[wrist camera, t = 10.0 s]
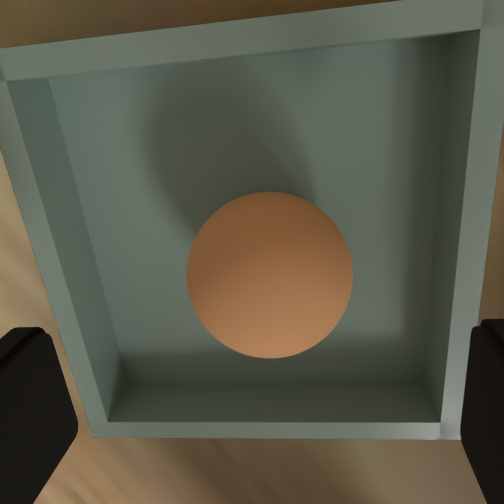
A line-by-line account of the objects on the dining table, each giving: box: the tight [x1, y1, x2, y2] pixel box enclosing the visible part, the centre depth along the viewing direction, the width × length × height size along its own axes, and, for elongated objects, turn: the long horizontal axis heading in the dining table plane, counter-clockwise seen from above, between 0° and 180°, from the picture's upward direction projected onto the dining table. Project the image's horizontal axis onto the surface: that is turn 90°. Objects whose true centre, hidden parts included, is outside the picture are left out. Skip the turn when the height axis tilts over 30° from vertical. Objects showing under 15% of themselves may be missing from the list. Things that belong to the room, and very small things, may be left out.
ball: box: [186, 192, 353, 358], centre depth 13 cm, size 5×5×5 cm
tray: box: [0, 0, 504, 440], centre depth 15 cm, size 14×14×3 cm
